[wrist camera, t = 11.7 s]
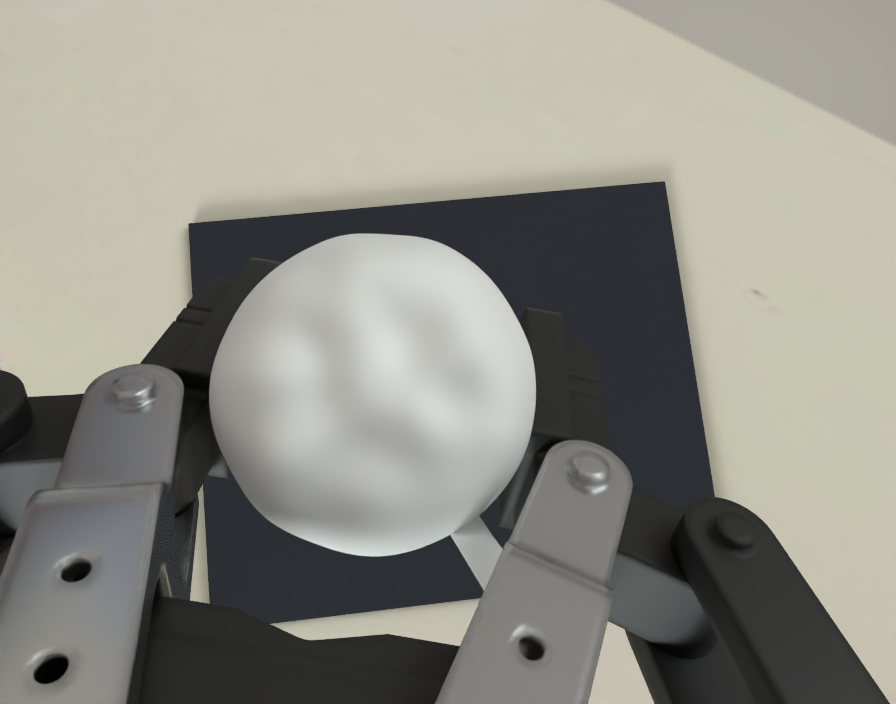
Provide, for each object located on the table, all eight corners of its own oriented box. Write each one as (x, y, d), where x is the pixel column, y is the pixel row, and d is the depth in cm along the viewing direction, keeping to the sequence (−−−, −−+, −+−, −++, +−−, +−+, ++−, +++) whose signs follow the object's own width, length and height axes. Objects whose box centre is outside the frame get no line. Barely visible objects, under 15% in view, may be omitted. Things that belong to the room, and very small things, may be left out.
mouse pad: (662, 183, 27) (665, 181, 27) (722, 566, 25) (726, 568, 25) (190, 225, 26) (188, 223, 26) (213, 628, 24) (211, 631, 24)
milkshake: (377, 561, 16) (340, 746, 6) (270, 387, 17) (81, 308, 7) (521, 465, 17) (690, 499, 7) (415, 298, 17) (433, 110, 7)
